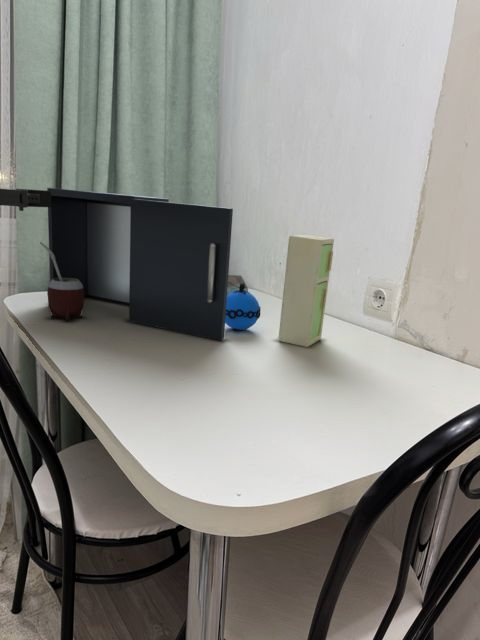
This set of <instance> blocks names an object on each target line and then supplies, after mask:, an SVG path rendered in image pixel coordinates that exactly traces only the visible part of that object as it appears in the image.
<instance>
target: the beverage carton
mask: <svg viewBox="0 0 480 640" xmlns="http://www.w3.org/2000/svg"><path fill="white" fill-rule="evenodd" d="M241 283H243V284H244V285H245V288H244V291H247V292H249V288H248V286H247V284H246V282H245V280H244V278H243V277H242V275H239V274H237V275H236V274H228V288H227V295H229V294H230V293H232V292H234V291H237V290H239V286H240V284H241Z"/></svg>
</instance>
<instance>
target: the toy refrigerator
mask: <svg viewBox="0 0 480 640" xmlns="http://www.w3.org/2000/svg"><path fill="white" fill-rule="evenodd" d="M334 242H335V238H334V237H333V238H332V237H326V236H317V235H309V234H295V235H293V234H292V235H289V237H288V243H287V254H286V261H285V262H286V263H285V272H284V283H283V293H282V302H281V310H280V320H279V328H278V329H279V330H278V342H283V343H287V344H293V345H297V346H301V347H306V348H309V347H310V346H312V345H313V344H315V343H317V342H319V341H321V339H322V333H323V325H324V319H325V310H326V305H327V295H328V287H329V280H330V274H331V273H330V272H331V270H332V264H333V257H334V245H335V244H334Z"/></svg>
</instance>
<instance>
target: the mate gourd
mask: <svg viewBox="0 0 480 640" xmlns="http://www.w3.org/2000/svg"><path fill="white" fill-rule="evenodd" d="M39 244H40V245H41V246H42V247H43V248H44V249H45V250H46V252H48V254H49V253H50V257H51V259H52V260H53V263H54V266H55V269H56V271H57V274H58V277H59V278H55V279H52V280H51V282H50V281H49V283H48V287H47V290H46V291H47V292H46V296H47V304H48V308H49V311H50V314H51V315H49V317H50V320H62V319H63V320H65V322H67V323H70V322H72V321H71V320H72V319H83V317H84V316H83V315H82V313H83V309H84V306H85V299H84V297H85V294H84V289H83V285H82V283H81V282H80V281H79V280H78V279H74V278H62V277H61V275H60V272H59V269H58V266H57V263H56V260H55V256H54V254H53V253H52V251H51V250H50V249H49V246H47V245H46V244H44V243H43V242H42V241H40V242H39Z"/></svg>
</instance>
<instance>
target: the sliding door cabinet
mask: <svg viewBox="0 0 480 640" xmlns="http://www.w3.org/2000/svg"><path fill="white" fill-rule="evenodd" d="M46 191H51V207H47V225H48V248H49V249H50V250H51V251H52V253H53V254H54V256H55V260H56V263H57V266H58V269H59V272H60V275H61V277H62V278H74V279H78V280H79V281H80V282H81V283H82V285H83V289H84V294H85V297H84V300H87V299H90V300H94V301H100V302H105V303H109V304H114V305H120V306H124V307H128V321H129V322H131V323H136V324H141V325H146V326H151V327H156V328H160V329H165V330H171V331H174V332H179V333H184V334H190V335H194V336H199V337H204V338H209V339H212V340H213V339H214V340H218V341H223V340H224V339H225V331H226V323H225V317H226V302H227V288H228V275H229V274H230V273H229V271H230V257H231V242H232V230H233V229H232V228H233V216H234V215H233V213H234V208H230V207H221V206H211V205H201V204H192V203H191V204H190V203H181V202H171V201H170V198H163V197H155V196H154V197H152V196H145V195H144V196H142V195H131V194H122V193H112V192H103V191H101V192H100V191H91V190H78V189H67V188H66V189H65V188H55V187H53V188H52V187H47V190H46ZM48 258H49V259H48V260H49V262H48V263H49V283H50V282H51V280H52V279H55V278H59V277H58V274H57V271H56V269H55V266H54V263H53V260H52V259H51V257H50V253H49V252H48Z"/></svg>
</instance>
